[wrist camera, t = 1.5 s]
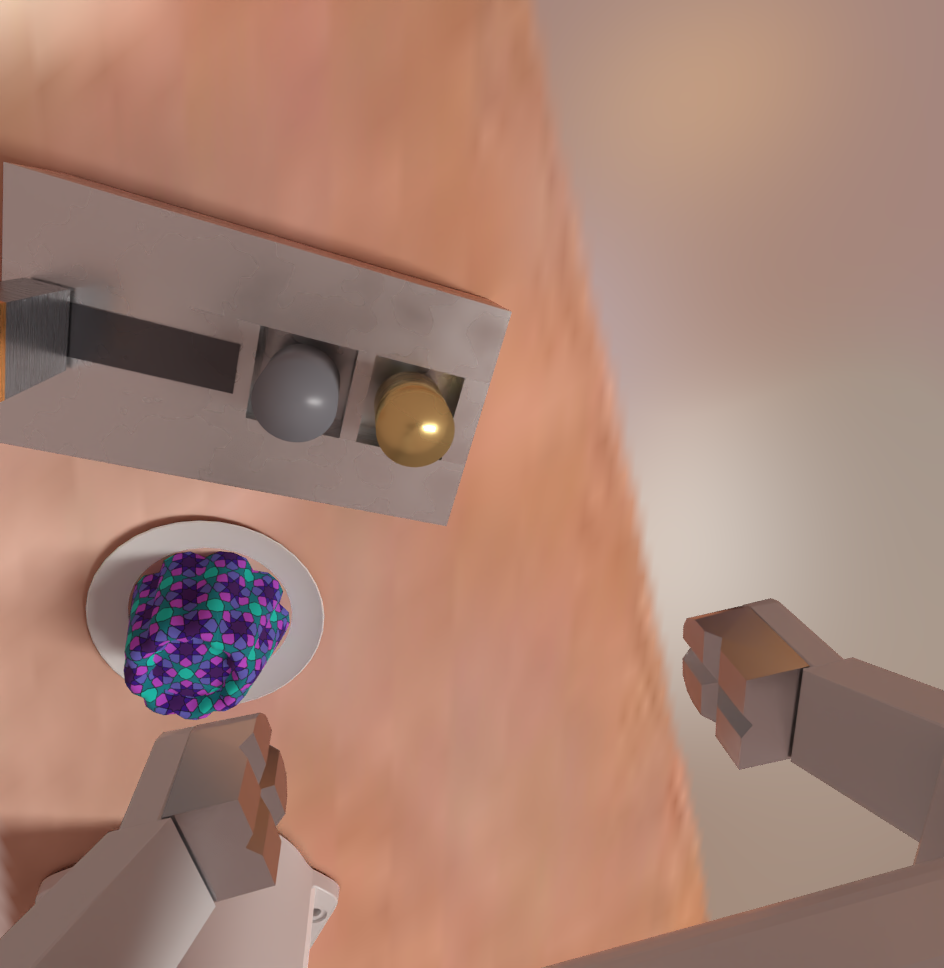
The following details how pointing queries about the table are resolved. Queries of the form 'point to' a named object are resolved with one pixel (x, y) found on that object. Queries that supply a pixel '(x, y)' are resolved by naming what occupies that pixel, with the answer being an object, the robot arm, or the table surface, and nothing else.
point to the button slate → (297, 393)
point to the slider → (31, 333)
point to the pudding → (203, 617)
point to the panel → (232, 347)
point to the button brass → (412, 420)
